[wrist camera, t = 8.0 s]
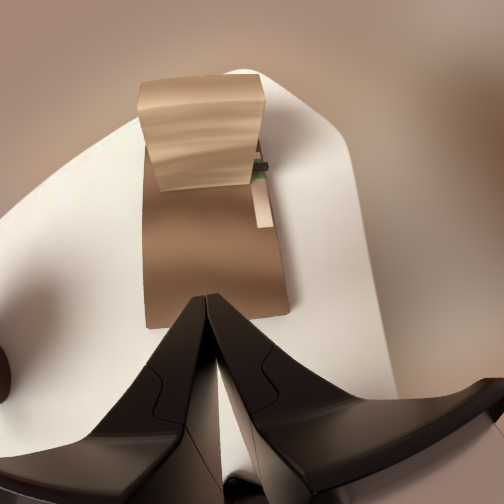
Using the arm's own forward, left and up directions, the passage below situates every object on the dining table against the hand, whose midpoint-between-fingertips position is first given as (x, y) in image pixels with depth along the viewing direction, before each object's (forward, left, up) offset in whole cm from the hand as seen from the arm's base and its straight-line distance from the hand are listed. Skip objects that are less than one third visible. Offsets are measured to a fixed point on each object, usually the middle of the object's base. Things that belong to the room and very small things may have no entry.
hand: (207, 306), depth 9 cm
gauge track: (+5, -7, -13) cm, 15 cm away
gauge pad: (+6, -11, -11) cm, 16 cm away
